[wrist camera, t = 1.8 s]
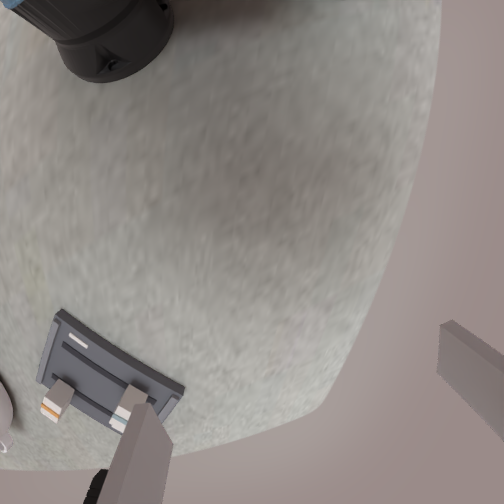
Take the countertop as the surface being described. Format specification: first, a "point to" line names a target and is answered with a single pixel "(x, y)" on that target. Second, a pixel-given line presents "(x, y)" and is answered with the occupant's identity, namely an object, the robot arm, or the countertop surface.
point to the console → (100, 372)
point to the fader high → (127, 406)
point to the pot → (5, 420)
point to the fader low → (57, 400)
